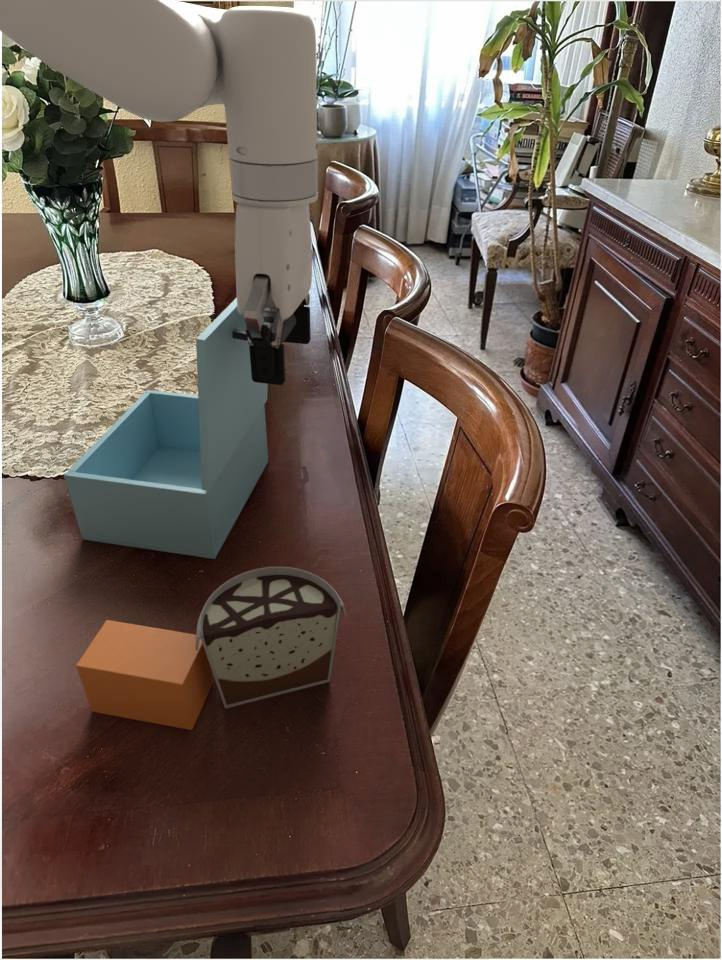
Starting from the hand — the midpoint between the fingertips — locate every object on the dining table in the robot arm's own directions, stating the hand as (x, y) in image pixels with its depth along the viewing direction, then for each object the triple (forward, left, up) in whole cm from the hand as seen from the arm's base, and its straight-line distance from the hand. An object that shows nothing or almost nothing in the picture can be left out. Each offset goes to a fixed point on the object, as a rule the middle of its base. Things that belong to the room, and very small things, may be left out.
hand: (283, 361), depth 67 cm
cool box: (-13, 0, -20) cm, 24 cm away
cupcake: (+5, -22, -20) cm, 30 cm away
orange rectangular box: (-4, -27, -20) cm, 34 cm away
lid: (-5, 0, -2) cm, 6 cm away
